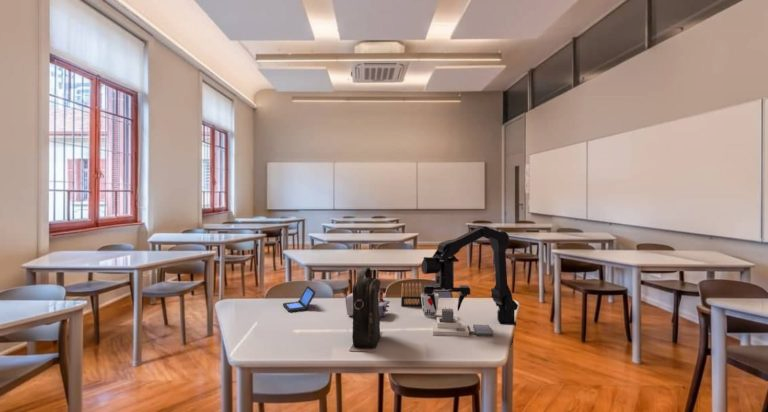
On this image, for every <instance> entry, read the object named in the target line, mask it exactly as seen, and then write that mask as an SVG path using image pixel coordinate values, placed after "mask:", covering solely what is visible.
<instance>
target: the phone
mask: <svg viewBox="0 0 768 412" xmlns="http://www.w3.org/2000/svg"><path fill="white" fill-rule="evenodd" d="M472 329H473V331H476V334H475V335H476V337H489V338H490V337H491V338H492V337H494V333H493V330H492V329H491V327H490V325H489V324H472Z"/></svg>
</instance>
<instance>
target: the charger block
mask: <svg viewBox="0 0 768 412" xmlns="http://www.w3.org/2000/svg"><path fill="white" fill-rule="evenodd" d="M441 317H442V323H453V318H454V309H453V308H451V307H450V306H449V307H448V308H447V307H444V308H441Z"/></svg>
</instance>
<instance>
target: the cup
mask: <svg viewBox="0 0 768 412" xmlns="http://www.w3.org/2000/svg"><path fill="white" fill-rule="evenodd" d="M434 295H435V302H436V310H435V308H434V305H433V302H432V300H431V298H430V296H427V294H424V292H422V294H421V301H422V307H421V308H422V313H423V315H424V317H425V318H435V317H437V316H436V315H437V313H438V308H439V301H440V300H439V299H440V298H439V293H438V292H434Z"/></svg>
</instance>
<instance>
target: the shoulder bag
mask: <svg viewBox="0 0 768 412" xmlns="http://www.w3.org/2000/svg"><path fill="white" fill-rule="evenodd" d="M380 287H381V280H380V279H378V278H374V277H372V270H371V268H370V267H367V266H365V267H360V268H359V269H358V271H357V274H356V282H355V283H354V284H353V285H352V293H353V316H352V345H351V346H350V348H349V350H348V351H350V352H351V351H352V352H367V353H368V352H370V353H371V352H372V353H373V352H375V351H376V349H377V347H378V344H379V343H380V339H381V337H382V335H383V331H381V326H380V325H381V322H380V321H381V317H380V315H379V302H378V301H379V297H380V296H379V293H380Z"/></svg>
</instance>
